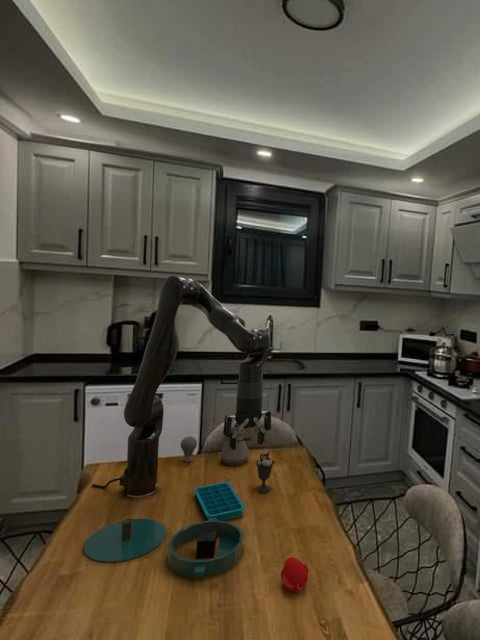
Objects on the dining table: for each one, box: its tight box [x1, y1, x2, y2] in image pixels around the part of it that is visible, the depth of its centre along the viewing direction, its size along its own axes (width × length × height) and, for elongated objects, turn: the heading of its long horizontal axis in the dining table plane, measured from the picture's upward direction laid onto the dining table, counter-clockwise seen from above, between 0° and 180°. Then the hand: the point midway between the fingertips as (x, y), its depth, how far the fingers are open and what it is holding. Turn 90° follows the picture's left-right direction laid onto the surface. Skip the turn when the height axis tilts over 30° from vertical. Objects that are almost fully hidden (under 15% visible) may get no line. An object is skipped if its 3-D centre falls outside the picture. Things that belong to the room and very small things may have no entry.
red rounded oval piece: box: [280, 556, 309, 593], centre depth 108 cm, size 8×6×6 cm
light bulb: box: [180, 435, 198, 463], centre depth 171 cm, size 6×6×10 cm
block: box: [195, 531, 218, 560], centre depth 116 cm, size 4×4×5 cm
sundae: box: [255, 449, 276, 494], centre depth 154 cm, size 7×7×15 cm
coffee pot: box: [219, 427, 256, 466], centre depth 171 cm, size 21×12×15 cm, turn 39°
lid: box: [83, 518, 167, 564], centre depth 119 cm, size 20×20×6 cm
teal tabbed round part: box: [167, 518, 244, 578], centre depth 116 cm, size 19×24×4 cm
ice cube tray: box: [193, 481, 246, 521], centre depth 140 cm, size 12×20×3 cm, turn 34°
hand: (246, 446), depth 131 cm, fingers open, 8 cm apart
